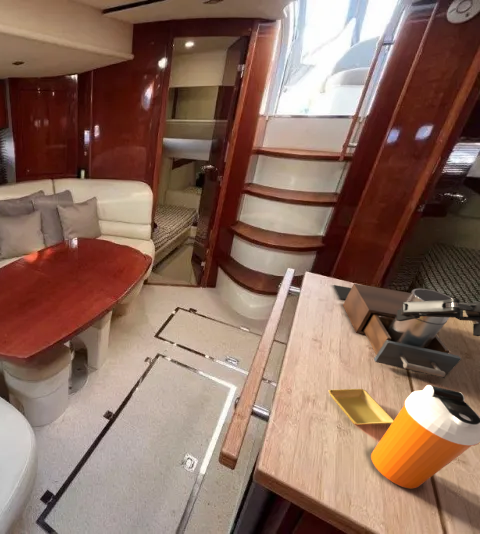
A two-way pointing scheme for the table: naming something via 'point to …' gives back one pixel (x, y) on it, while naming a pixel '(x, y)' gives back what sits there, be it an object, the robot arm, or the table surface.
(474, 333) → the robot arm
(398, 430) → the shaker bottle
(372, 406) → the yellow square tray
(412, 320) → the metal cup
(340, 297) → the coaster
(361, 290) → the cabinet
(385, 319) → the drawer
